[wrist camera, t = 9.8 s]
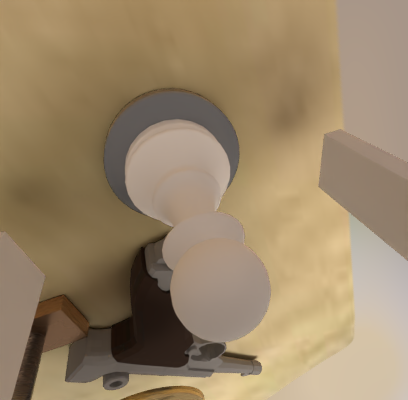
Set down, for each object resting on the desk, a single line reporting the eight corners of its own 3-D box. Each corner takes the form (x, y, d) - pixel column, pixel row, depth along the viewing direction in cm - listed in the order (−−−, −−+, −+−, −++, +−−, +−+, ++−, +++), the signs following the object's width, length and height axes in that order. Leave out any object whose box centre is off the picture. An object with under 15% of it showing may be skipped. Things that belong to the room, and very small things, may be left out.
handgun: (325, 294, 30) (239, 363, 35) (157, 218, 17) (54, 343, 22) (345, 321, 28) (250, 392, 32) (165, 254, 15) (45, 389, 19)
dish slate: (132, 220, 16) (132, 233, 15) (80, 109, 12) (76, 117, 11) (237, 188, 17) (244, 198, 16) (223, 72, 13) (231, 76, 12)
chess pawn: (157, 219, 15) (190, 398, 8) (102, 150, 12) (77, 342, 5) (233, 178, 15) (337, 326, 8) (198, 97, 12) (315, 219, 5)
